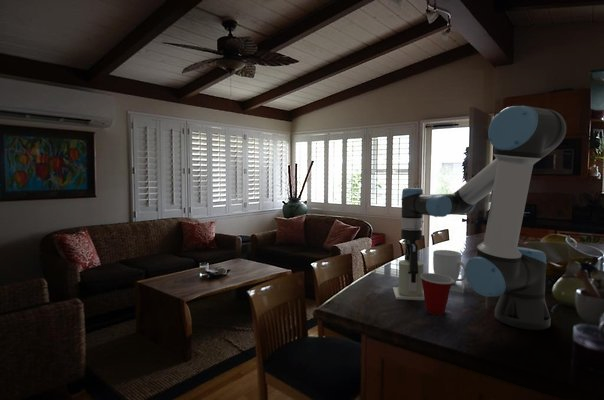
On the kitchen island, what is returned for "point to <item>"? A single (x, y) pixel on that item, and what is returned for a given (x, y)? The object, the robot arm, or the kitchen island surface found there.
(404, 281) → the can
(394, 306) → the kitchen island surface
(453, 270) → the mug
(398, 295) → the square picture frame
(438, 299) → the plastic cup
